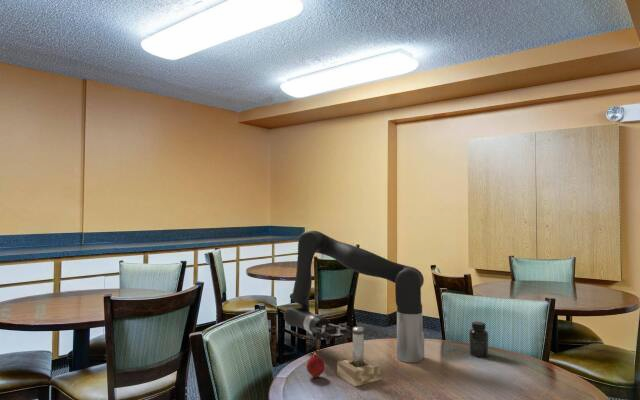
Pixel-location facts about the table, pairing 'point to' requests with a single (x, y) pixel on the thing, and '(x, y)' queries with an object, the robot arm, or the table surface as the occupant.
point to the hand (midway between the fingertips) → (340, 336)
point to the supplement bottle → (478, 340)
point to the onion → (315, 365)
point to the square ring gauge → (358, 372)
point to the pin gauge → (358, 346)
